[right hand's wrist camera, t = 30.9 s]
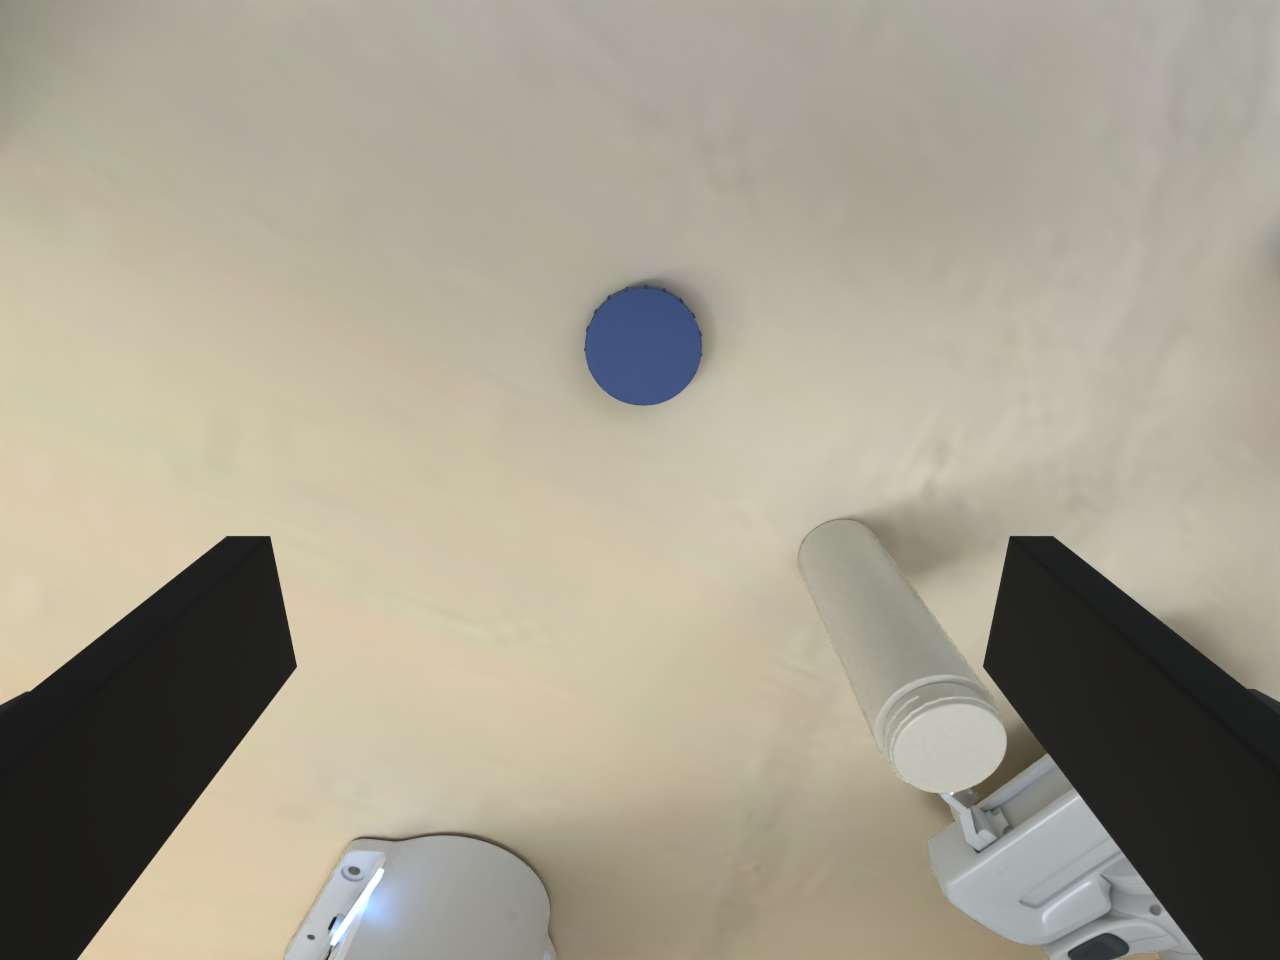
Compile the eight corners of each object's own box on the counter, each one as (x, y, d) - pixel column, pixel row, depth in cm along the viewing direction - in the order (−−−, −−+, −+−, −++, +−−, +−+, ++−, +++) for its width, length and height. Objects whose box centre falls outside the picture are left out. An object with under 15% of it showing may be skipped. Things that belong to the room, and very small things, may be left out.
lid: (570, 304, 38) (567, 307, 36) (683, 269, 37) (685, 271, 36) (605, 411, 40) (604, 420, 38) (713, 380, 39) (716, 387, 38)
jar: (850, 503, 42) (973, 674, 26) (896, 561, 43) (1039, 756, 28) (781, 552, 43) (860, 744, 28) (828, 607, 44) (929, 819, 29)
